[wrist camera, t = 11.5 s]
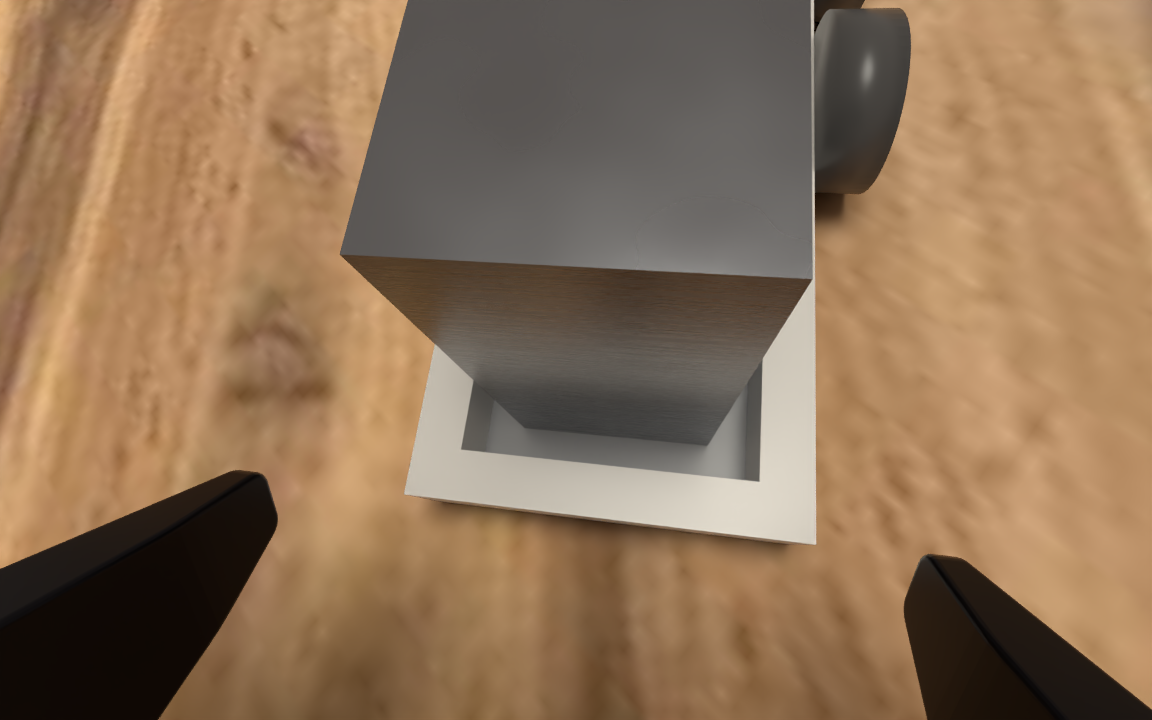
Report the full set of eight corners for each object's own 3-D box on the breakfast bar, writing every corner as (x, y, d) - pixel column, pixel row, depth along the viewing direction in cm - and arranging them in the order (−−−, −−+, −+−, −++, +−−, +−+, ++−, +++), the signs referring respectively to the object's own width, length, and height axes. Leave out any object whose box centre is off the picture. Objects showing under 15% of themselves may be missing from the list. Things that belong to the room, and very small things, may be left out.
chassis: (854, 552, 14) (946, 556, 10) (386, 495, 16) (290, 477, 12) (840, -51, 20) (893, -213, 16) (502, -42, 22) (467, -184, 18)
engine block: (707, 445, 15) (812, 279, 5) (524, 428, 16) (339, 254, 6) (716, 275, 16) (809, -88, 7) (548, 266, 17) (427, -72, 8)
